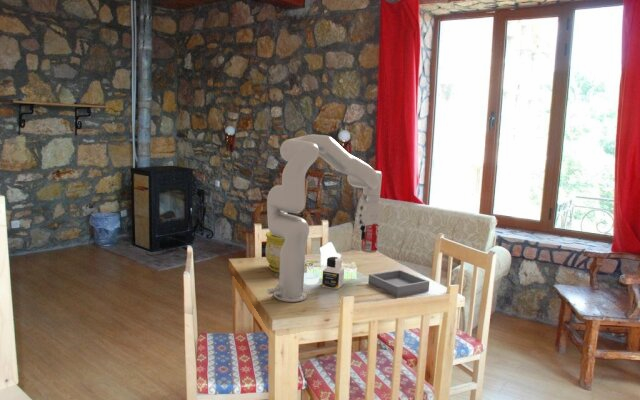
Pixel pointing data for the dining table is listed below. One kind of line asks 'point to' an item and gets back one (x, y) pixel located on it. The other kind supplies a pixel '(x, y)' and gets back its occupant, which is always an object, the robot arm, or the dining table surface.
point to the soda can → (370, 239)
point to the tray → (398, 282)
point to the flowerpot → (273, 251)
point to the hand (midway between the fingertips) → (367, 239)
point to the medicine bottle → (333, 273)
